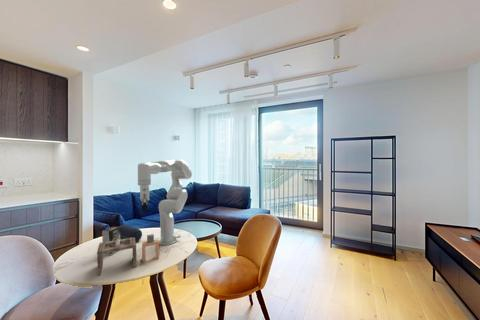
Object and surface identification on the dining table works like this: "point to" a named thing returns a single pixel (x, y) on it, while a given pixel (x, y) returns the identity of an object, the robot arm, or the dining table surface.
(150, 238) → the tan and grey block
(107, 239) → the coffee box
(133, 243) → the shelf
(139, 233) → the portable speaker
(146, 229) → the dining table surface
